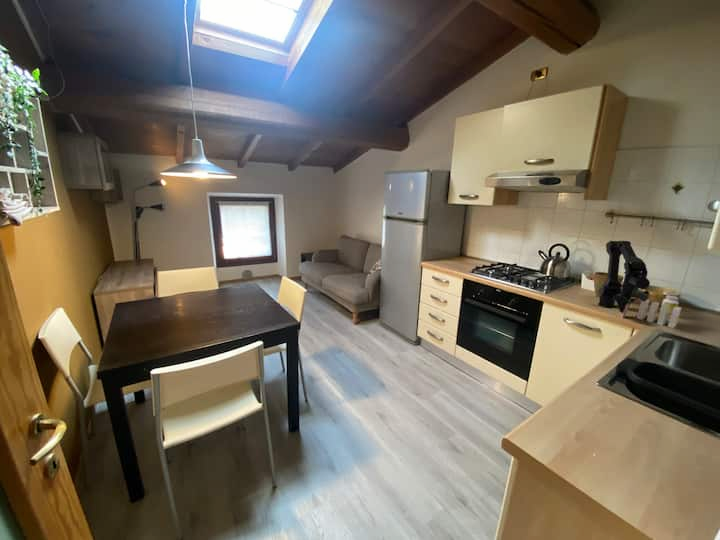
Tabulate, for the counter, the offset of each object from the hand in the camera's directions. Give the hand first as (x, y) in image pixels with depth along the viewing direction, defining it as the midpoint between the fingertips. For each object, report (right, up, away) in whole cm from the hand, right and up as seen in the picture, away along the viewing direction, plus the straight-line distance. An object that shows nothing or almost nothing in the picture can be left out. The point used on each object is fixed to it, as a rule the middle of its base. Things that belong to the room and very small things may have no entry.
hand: (623, 311), depth 158 cm
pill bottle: (+30, -3, +6) cm, 31 cm away
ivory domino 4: (+15, -6, -10) cm, 20 cm away
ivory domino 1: (+9, -4, -1) cm, 10 cm away
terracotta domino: (0, -3, +1) cm, 3 cm away
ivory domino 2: (+11, -4, -4) cm, 13 cm away
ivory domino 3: (+13, -5, -7) cm, 16 cm away
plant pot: (+17, +4, +34) cm, 38 cm away
